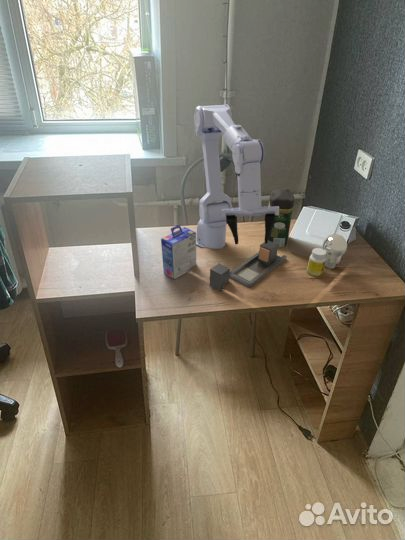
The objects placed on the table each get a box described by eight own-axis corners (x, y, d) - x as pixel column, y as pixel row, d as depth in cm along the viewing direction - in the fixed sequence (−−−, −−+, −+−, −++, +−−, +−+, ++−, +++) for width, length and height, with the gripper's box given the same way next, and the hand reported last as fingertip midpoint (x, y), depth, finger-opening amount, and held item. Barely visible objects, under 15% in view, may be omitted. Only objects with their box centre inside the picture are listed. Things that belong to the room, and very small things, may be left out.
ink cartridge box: (184, 259, 125) (184, 219, 117) (197, 266, 122) (197, 225, 114) (161, 272, 119) (159, 230, 111) (174, 280, 116) (173, 238, 108)
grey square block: (209, 285, 114) (210, 268, 111) (219, 278, 117) (220, 262, 114) (220, 291, 112) (221, 274, 109) (229, 284, 115) (231, 267, 112)
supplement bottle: (322, 280, 118) (328, 256, 113) (306, 277, 118) (311, 254, 114) (321, 271, 122) (327, 248, 117) (306, 269, 122) (310, 246, 117)
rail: (227, 279, 117) (228, 273, 116) (264, 252, 129) (265, 246, 128) (249, 290, 113) (250, 284, 111) (285, 261, 125) (286, 256, 124)
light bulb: (313, 268, 122) (321, 235, 115) (324, 259, 127) (332, 227, 120) (333, 278, 119) (342, 244, 112) (344, 268, 123) (353, 235, 116)
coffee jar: (264, 234, 139) (270, 185, 129) (286, 236, 138) (295, 187, 128) (263, 248, 131) (270, 197, 121) (287, 251, 131) (296, 199, 120)
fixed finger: (257, 261, 123) (259, 245, 120) (265, 256, 126) (267, 240, 122) (267, 266, 121) (270, 250, 117) (275, 260, 124) (278, 244, 120)
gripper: (218, 194, 96) (222, 248, 101) (279, 191, 93) (279, 246, 98) (222, 190, 103) (225, 240, 107) (278, 187, 100) (279, 239, 104)
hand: (251, 243), depth 103 cm, fingers open, 7 cm apart
